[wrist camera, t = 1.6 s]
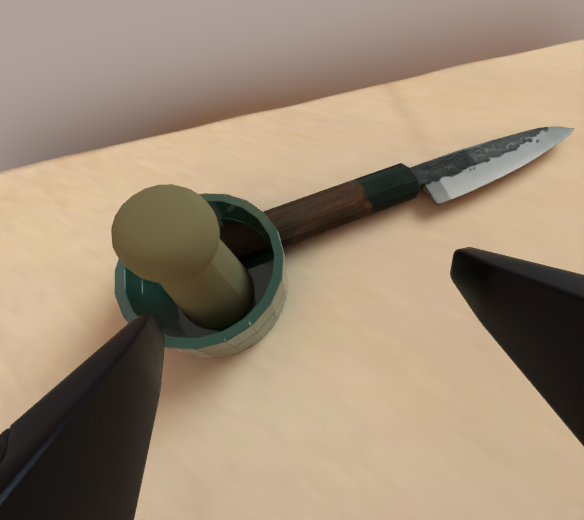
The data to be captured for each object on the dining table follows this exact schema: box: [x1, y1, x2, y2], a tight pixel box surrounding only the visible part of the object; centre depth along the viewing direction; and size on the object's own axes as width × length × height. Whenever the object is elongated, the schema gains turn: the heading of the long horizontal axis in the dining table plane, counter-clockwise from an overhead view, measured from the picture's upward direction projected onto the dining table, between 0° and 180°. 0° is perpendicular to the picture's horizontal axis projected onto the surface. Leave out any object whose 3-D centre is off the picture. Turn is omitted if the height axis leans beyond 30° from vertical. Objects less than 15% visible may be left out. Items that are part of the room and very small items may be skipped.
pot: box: [115, 194, 287, 358], centre depth 22 cm, size 11×11×5 cm
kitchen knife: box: [219, 127, 574, 262], centre depth 26 cm, size 36×2×5 cm
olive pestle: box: [112, 184, 254, 329], centre depth 19 cm, size 6×6×11 cm
